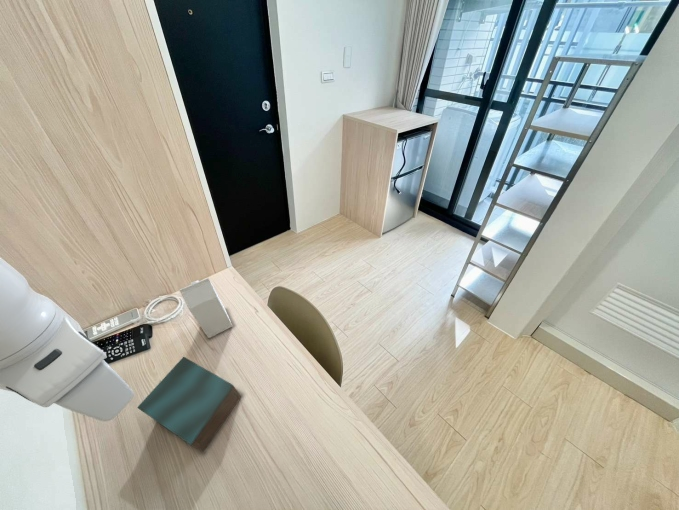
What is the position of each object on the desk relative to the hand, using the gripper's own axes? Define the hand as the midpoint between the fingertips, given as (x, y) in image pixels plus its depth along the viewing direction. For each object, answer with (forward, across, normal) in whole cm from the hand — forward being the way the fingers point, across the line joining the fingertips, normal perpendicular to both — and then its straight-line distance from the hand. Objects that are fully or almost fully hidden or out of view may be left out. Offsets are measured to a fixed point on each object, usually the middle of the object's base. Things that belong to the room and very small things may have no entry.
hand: (98, 389), depth 40 cm
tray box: (+29, 0, +7) cm, 30 cm away
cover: (+22, -1, +7) cm, 23 cm away
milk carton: (+29, -13, +27) cm, 42 cm away
